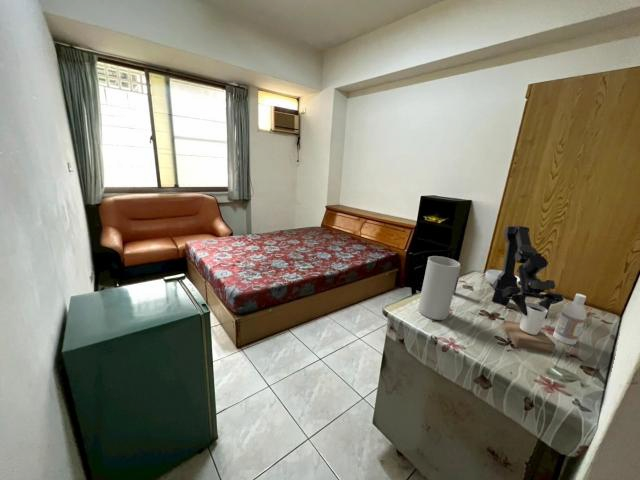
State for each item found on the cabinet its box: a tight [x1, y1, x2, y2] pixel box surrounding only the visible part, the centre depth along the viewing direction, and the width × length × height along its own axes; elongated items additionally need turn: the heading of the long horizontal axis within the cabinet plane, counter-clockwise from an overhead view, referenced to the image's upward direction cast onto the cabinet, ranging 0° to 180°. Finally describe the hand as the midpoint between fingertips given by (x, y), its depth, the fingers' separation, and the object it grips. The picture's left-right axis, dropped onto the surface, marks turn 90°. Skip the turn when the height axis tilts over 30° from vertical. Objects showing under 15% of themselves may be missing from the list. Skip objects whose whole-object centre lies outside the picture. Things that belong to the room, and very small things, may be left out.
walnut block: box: [501, 320, 556, 354], centre depth 102 cm, size 12×12×4 cm
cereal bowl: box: [485, 269, 520, 287], centre depth 152 cm, size 17×17×7 cm
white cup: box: [519, 302, 549, 335], centre depth 100 cm, size 7×7×10 cm
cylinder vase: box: [417, 255, 461, 321], centre depth 115 cm, size 12×12×25 cm
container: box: [453, 266, 462, 296], centre depth 138 cm, size 5×5×15 cm
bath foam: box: [552, 293, 587, 346], centre depth 103 cm, size 7×7×20 cm
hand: (535, 316), depth 99 cm, fingers closed on white cup, 6 cm apart
